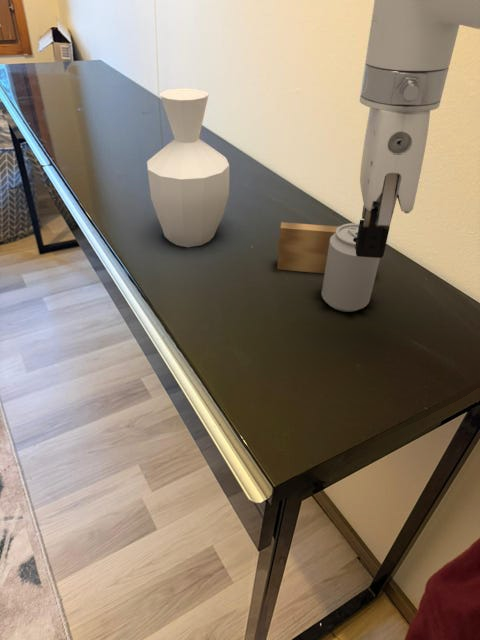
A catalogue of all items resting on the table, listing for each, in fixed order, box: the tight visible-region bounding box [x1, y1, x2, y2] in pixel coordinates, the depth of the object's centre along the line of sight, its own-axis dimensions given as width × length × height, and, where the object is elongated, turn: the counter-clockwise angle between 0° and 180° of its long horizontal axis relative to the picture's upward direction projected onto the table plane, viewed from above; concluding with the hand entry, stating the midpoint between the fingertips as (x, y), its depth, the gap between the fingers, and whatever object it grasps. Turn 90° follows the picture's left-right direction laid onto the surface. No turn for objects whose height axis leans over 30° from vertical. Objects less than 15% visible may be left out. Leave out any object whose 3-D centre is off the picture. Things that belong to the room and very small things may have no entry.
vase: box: [146, 87, 230, 248], centre depth 79 cm, size 14×14×25 cm
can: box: [321, 222, 381, 313], centre depth 68 cm, size 8×8×12 cm
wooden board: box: [276, 221, 339, 274], centre depth 76 cm, size 16×2×8 cm, turn 82°
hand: (368, 253), depth 55 cm, fingers closed
